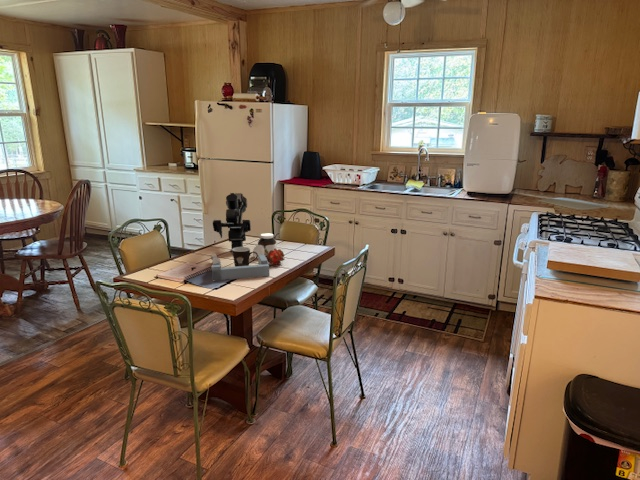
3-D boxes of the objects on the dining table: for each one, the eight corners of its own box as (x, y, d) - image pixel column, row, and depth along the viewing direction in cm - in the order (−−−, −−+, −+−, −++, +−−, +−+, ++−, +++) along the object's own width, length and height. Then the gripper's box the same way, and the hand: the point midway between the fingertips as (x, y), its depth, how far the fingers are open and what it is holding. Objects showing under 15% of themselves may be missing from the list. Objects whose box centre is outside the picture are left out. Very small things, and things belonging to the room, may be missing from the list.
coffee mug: (229, 269, 218) (228, 250, 216) (240, 265, 226) (239, 245, 223) (248, 273, 213) (248, 253, 211) (259, 268, 221) (258, 248, 218)
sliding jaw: (211, 261, 231) (210, 249, 229) (218, 261, 231) (217, 249, 230) (214, 277, 207) (213, 263, 205) (221, 276, 208) (221, 263, 206)
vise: (210, 271, 216) (210, 258, 214) (264, 267, 223) (264, 254, 221) (212, 281, 203) (211, 267, 201) (269, 276, 210) (269, 262, 208)
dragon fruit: (283, 263, 233) (271, 273, 224) (271, 253, 235) (258, 262, 225) (290, 253, 229) (278, 262, 219) (278, 242, 230) (265, 251, 220)
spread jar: (278, 253, 246) (277, 233, 243) (273, 259, 235) (273, 238, 232) (256, 253, 247) (255, 232, 244) (251, 259, 236) (250, 237, 233)
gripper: (213, 204, 227) (209, 225, 216) (250, 204, 228) (248, 225, 217) (215, 220, 235) (212, 241, 224) (251, 220, 236) (249, 241, 225)
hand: (230, 237), depth 222 cm, fingers open, 9 cm apart
